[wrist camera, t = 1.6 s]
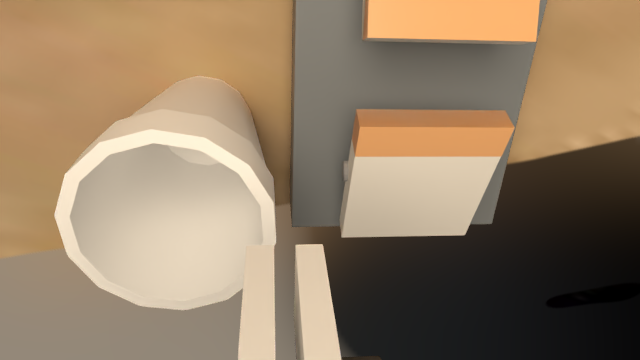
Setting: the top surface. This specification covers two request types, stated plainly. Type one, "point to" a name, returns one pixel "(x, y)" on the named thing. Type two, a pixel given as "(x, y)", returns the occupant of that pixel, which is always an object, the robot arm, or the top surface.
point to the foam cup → (171, 199)
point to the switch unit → (383, 96)
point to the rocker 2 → (419, 170)
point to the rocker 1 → (451, 21)
